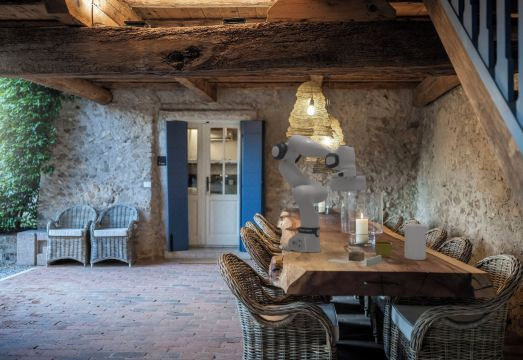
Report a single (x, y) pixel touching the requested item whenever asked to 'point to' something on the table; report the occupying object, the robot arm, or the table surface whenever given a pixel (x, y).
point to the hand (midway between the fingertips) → (349, 199)
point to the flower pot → (383, 249)
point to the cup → (415, 241)
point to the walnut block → (356, 256)
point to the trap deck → (367, 261)
